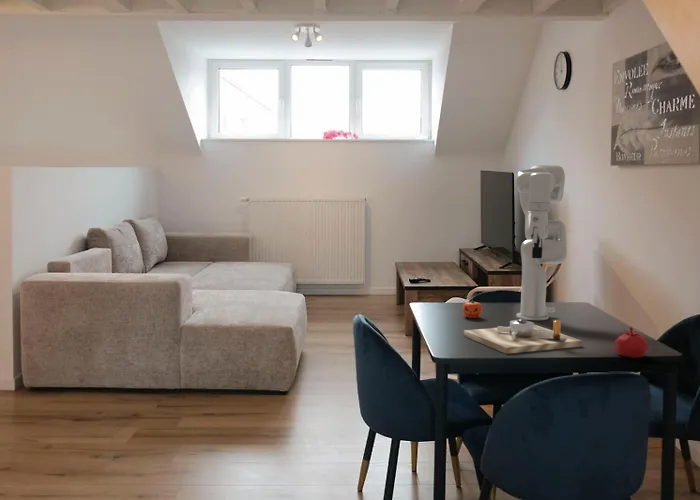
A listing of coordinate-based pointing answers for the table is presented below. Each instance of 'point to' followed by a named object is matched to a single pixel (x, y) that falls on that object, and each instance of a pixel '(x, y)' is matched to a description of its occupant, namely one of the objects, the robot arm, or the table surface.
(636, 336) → the pomegranate
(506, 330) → the cylinder
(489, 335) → the wooden board
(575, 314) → the table surface
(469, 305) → the pumpkin
